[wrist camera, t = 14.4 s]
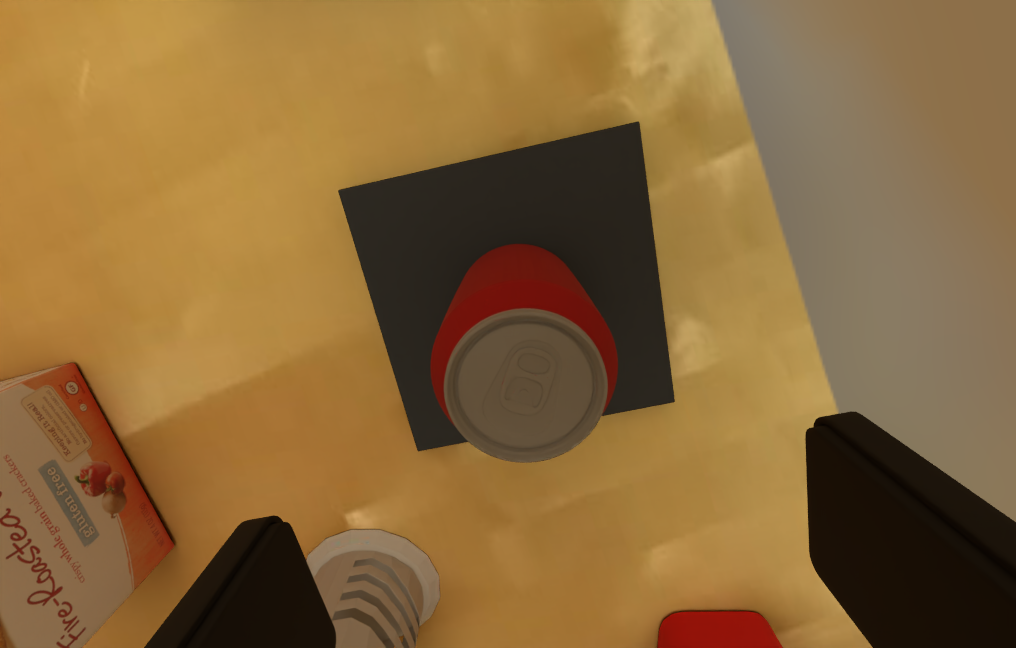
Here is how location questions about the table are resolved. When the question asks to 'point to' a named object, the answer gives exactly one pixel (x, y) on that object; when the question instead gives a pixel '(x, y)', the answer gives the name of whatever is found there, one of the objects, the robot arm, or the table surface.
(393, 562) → the french press
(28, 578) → the cracker box
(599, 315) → the beverage can
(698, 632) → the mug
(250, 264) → the table surface
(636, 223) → the mat
